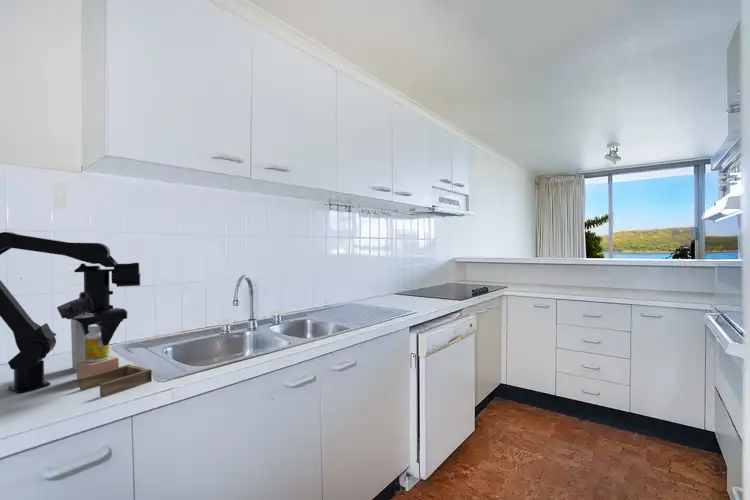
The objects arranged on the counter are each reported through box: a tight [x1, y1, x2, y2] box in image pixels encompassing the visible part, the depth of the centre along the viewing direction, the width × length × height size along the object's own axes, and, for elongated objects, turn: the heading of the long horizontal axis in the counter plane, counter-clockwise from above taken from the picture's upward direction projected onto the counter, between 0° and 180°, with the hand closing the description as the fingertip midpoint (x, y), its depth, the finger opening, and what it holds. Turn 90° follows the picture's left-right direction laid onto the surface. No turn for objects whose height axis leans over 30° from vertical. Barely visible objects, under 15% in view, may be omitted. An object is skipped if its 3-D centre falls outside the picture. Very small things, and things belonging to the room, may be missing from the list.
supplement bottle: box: [85, 324, 110, 362], centre depth 103 cm, size 5×5×10 cm
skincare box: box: [70, 319, 85, 372], centre depth 112 cm, size 8×7×16 cm
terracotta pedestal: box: [76, 355, 120, 381], centre depth 103 cm, size 7×7×5 cm
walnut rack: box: [79, 364, 153, 398], centre depth 98 cm, size 10×12×3 cm
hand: (97, 343), depth 103 cm, fingers open, 8 cm apart
